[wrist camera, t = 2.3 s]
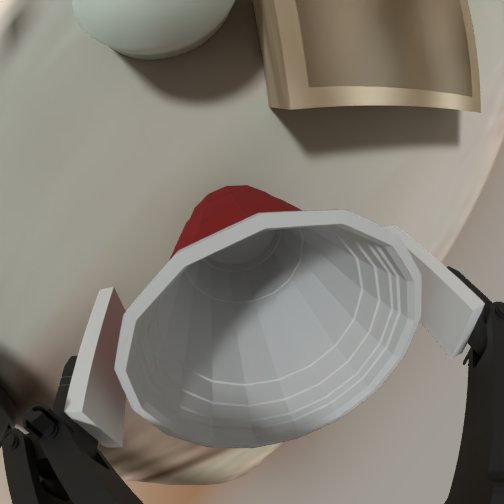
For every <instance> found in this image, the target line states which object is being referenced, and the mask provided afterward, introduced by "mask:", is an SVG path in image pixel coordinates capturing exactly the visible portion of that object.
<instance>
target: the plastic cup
mask: <svg viewBox="0 0 504 504" xmlns="http://www.w3.org/2000/svg"><path fill="white" fill-rule="evenodd" d="M421 293H422V279H421V273H420V271H419V269H418V268H417V266H416V264H415V262H414V260H413V258H412V257H411V255H410V253H409V251H408V250H407V248H406V246H405V244H404V243H403V241H402V239H401V238H400V236H399V235H397V234H395V233H393V232H391V231H389V230H387V229H385V228H383V227H381V226H379V225H377V224H375V223H373V222H371V221H369V220H367V219H365V218H363V217H361V216H359V215H356V214H354V213H352V212H350V211H348V210H340V209H333V210H305V211H302V210H300V209H298V208H297V207H295V206H293V205H291V204H289V203H287V202H285V201H283V200H280V199H278V198H275V197H273V196H271V195H269V194H267V193H266V192H263V191H261V190H258V189H255V188H253V187H250V186H247V185H245V186H226V187H224V188H221V189H219V190H217V191H214V192H212V193H210V194H208V195H207V196H206V197H205V198H204V199H203V200H202V201H201V202H200V203H199V204H198V205H197V207H196V208H195V209H194V211H193V213H192V216H191V218H190V220H189V221H188V222H187V223H186V225H185V227H184V229H183V231H182V233H181V235H180V238H179V240H178V242H177V244H176V247H175V249H174V251H173V253H172V256H171V258H170V260H169V262H168V263H167V264H166V265H165V266H164V267H163V268H162V269H161V271H160V272H159V273H158V274H157V275H156V276H155V277H154V279H153V280H152V281H151V282H150V283H149V284H148V286H147V287H146V288H145V289H144V290H143V291H142V293H141V294H140V295H139V296H138V297H137V298H136V300H135V301H134V302H133V303H132V304H131V306H130V307H129V308H128V309H127V311H126V312H125V313H124V315H123V320H122V325H121V330H120V336H119V342H118V348H117V354H116V360H115V367H114V369H115V372H116V374H117V376H118V379H119V381H120V383H121V385H122V388H123V390H124V392H125V394H126V396H127V398H128V400H129V402H130V404H131V407H132V409H133V410H135V411H136V412H137V413H138V414H140V415H141V416H142V417H143V418H145V419H146V420H147V421H149V422H150V423H151V424H153V425H154V426H155V427H157V428H158V429H159V430H161V431H162V432H164V433H165V434H166V435H169V436H172V437H175V438H178V439H181V440H185V441H188V442H191V443H195V444H198V445H202V446H206V447H213V448H256V447H261V446H266V445H271V444H276V443H280V442H285V441H289V440H293V439H297V438H300V437H302V436H304V435H307V434H309V433H311V432H313V431H316V430H318V429H320V428H322V427H324V426H326V425H328V424H331V423H333V422H335V421H336V420H338V419H340V418H342V417H343V416H345V415H346V414H347V413H349V412H350V411H351V410H353V409H354V408H355V407H357V406H358V405H359V404H361V403H362V402H363V401H365V400H366V399H367V398H368V397H370V396H371V395H372V394H373V393H375V392H376V391H377V390H378V389H379V387H380V386H381V385H382V384H383V383H384V382H385V380H386V379H387V378H388V376H389V375H390V374H391V373H392V372H393V370H394V369H395V368H396V366H397V365H398V364H399V363H400V362H401V360H402V359H403V358H404V356H405V354H406V352H407V349H408V347H409V345H410V342H411V340H412V338H413V335H414V333H415V331H416V328H417V326H418V323H419V321H420V318H421Z"/></svg>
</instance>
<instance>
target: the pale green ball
mask: <svg viewBox="0 0 504 504" xmlns="http://www.w3.org/2000/svg"><path fill="white" fill-rule="evenodd" d="M234 2H235V0H72V6H73V12H74V15H75V18H76V20H77V21H78V23H79V25H80V26H81V27H82V28H83V30H84V31H85V32H86V33H88V34H89V35H90V36H91V37H93V38H94V39H96V40H98V41H100V42H102V43H103V44H105V45H107V46H109V47H110V48H112V49H114V50H115V51H117V52H119V53H121V54H123V55H126V56H129V57H132V58H137V59H144V60H156V59H165V58H171V57H174V56H178V55H181V54H184V53H186V52H189V51H191V50H193V49H195V48H197V47H198V46H200V45H202V44H203V43H205V42H206V41H207V40H209V39H210V38H211V37H212V36H213V35H214V34H215V33H216V32H217V31H218V30H219V29H220V28H221V27H222V25H223V24H224V22H225V21H226V19H227V17H228V15H229V13H230V11H231V9H232V6H233V4H234Z"/></svg>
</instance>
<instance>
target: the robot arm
mask: <svg viewBox="0 0 504 504" xmlns="http://www.w3.org/2000/svg"><path fill="white" fill-rule="evenodd" d="M383 228H385V229H387V230H389V231H391V232H393V233H395V234H397V235H399V236H400V238H401V239H402V241H403V243H404V244H405V246H406V248H407V250H408V251H409V253H410V255H411V257H412V258H413V260H414V262H415V264H416V266H417V268H418V269H419V271H420V273H421V279H422V293H421V318H420V322H421V323H422V324H423V325H424V327H425V328H426V329H427V330H428V332H429V333H430V334H431V335H432V337H433V338H434V339H435V340H436V342H437V343H438V344H439V345H440V347H441V348H442V349H443V351H444V352H445V353H446V355H447V356H448V357H449V358H450V359H452V358H454V357H455V356H457V355H459V354H461V353H462V352H463V350H464V348H465V346H466V344H467V343H468V344H469V345H470V346H471V348H470V350H469V352H468V354H467V356H466V357H465V359H464V361H463V365H465V364H466V362H467V360H468V359H469V364H468V366H469V368H468V388H467V402H466V411H465V419H464V427H463V433H462V440H461V445H460V451H459V456H458V461H457V465H456V470H455V474H454V478H453V482H452V486H451V489H450V493H449V496H448V498H447V500H446V502H445V503H444V504H504V303H502V302H494V303H492V302H491V301H490V300H489V299H488V298H487V297H486V296H485V295H484V294H483V293H482V292H480V290H478V289H477V288H476V287H475V286H474V285H473V284H471V282H470V281H469V280H468V279H466V278H465V277H464V276H463V275H462V274H461V273H460V272H459V271H457V270H455V269H453V268H451V267H449V266H448V267H445V266H444V265H443V264H442V263H441V262H440V261H438V260H437V259H436V258H435V257H434V256H433V255H431V254H430V253H429V252H428V251H427V250H425V249H424V248H423V247H422V246H421V245H419V244H418V243H417V242H416V241H414V240H413V239H412V238H411V237H409V236H408V235H407V234H406V233H404V232H403V231H402V230H401V229H399V228H398V227H397V226H396V225H392V226H387V227H383ZM125 312H126V311H125V309H124V307H123V305H122V303H121V301H120V299H119V297H118V294H117V292H116V290H115V288H114V287H110V288H105V289H101V290H100V291H99V293H98V296H97V299H96V302H95V304H94V307H93V310H92V313H91V316H90V319H89V322H88V325H87V328H86V331H85V334H84V337H83V340H82V343H81V347H80V350H79V353H78V356H71V357H70V359H69V360H68V362H67V363H66V365H65V367H64V370H63V374H62V378H61V381H60V386H59V388H58V392H57V396H56V400H55V404H54V408H53V411H52V410H51V409H49V408H48V407H47V406H46V405H45V404H42V403H36V404H34V405H32V406H31V407H30V408H29V409H28V410H27V411H26V413H25V415H24V419H23V426H24V428H25V429H26V430H27V431H28V432H30V433H29V434H24V433H23V432H21V431H20V430H19V429H16V428H14V427H15V423H16V420H17V416H18V412H17V409H16V407H15V405H14V404H13V402H12V401H11V399H10V398H9V397H8V396H7V394H6V393H5V392H4V391H3V390H2V389H1V388H0V448H1V446H2V449H3V457H4V464H5V470H6V476H7V481H8V486H9V491H10V495H11V499H12V503H13V504H143V503H142V501H141V500H140V499H139V498H138V497H137V496H136V495H135V494H134V493H133V492H132V491H131V489H130V488H129V487H128V486H127V485H126V484H125V482H124V481H123V480H122V479H121V478H120V476H119V475H118V474H117V473H116V471H115V470H114V469H113V468H112V466H111V465H110V464H109V462H108V461H107V460H106V458H105V457H104V456H103V454H102V453H101V452H100V451H99V450H98V449H97V444H98V442H99V443H100V444H102V445H103V446H104V447H107V448H123V430H124V416H125V404H126V394H125V392H124V390H123V388H122V385H121V383H120V381H119V379H118V376H117V374H116V372H115V369H114V367H115V360H116V354H117V348H118V342H119V336H120V330H121V325H122V320H123V315H124V313H125Z"/></svg>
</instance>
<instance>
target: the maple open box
mask: <svg viewBox="0 0 504 504" xmlns="http://www.w3.org/2000/svg"><path fill="white" fill-rule="evenodd" d="M252 1H253V6H254V12H255V18H256V23H257V29H258V35H259V41H260V47H261V54H262V60H263V66H264V73H265V80H266V86H267V93H268V100H269V107H272V108H281V109H288V110H294V109H305V108H318V107H334V106H362V105H392V106H419V107H434V108H446V109H456V110H465V111H473V112H480V113H481V102H480V80H479V68H478V58H477V50H476V43H475V36H474V30H473V25H472V19H471V15H470V10H469V6H468V1H467V0H252Z"/></svg>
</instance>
